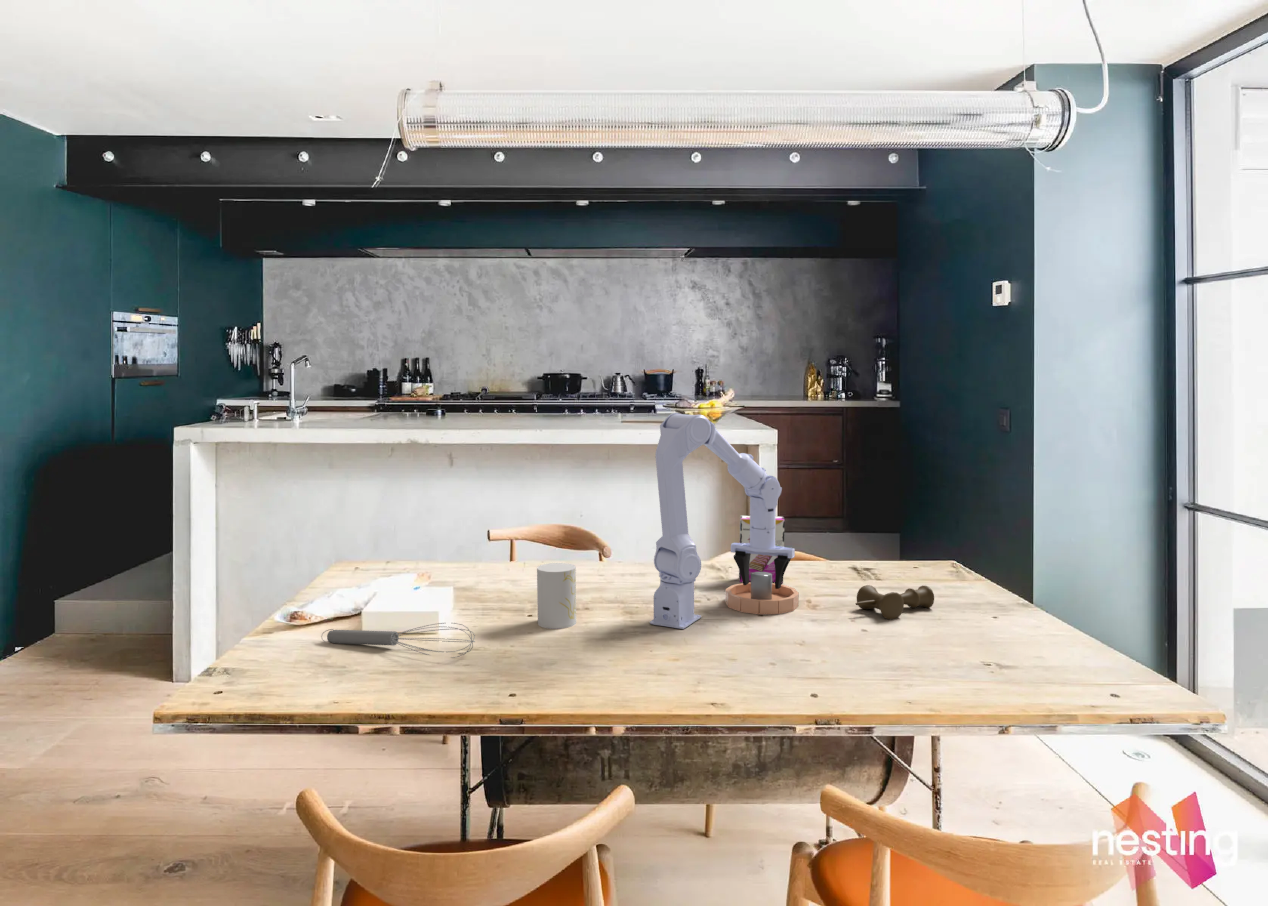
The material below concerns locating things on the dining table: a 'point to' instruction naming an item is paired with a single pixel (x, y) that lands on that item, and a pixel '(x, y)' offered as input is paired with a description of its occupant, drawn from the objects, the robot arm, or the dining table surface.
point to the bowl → (780, 603)
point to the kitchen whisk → (384, 637)
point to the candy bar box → (758, 561)
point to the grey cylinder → (761, 586)
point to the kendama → (894, 600)
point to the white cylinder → (556, 595)
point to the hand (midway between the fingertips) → (761, 586)
